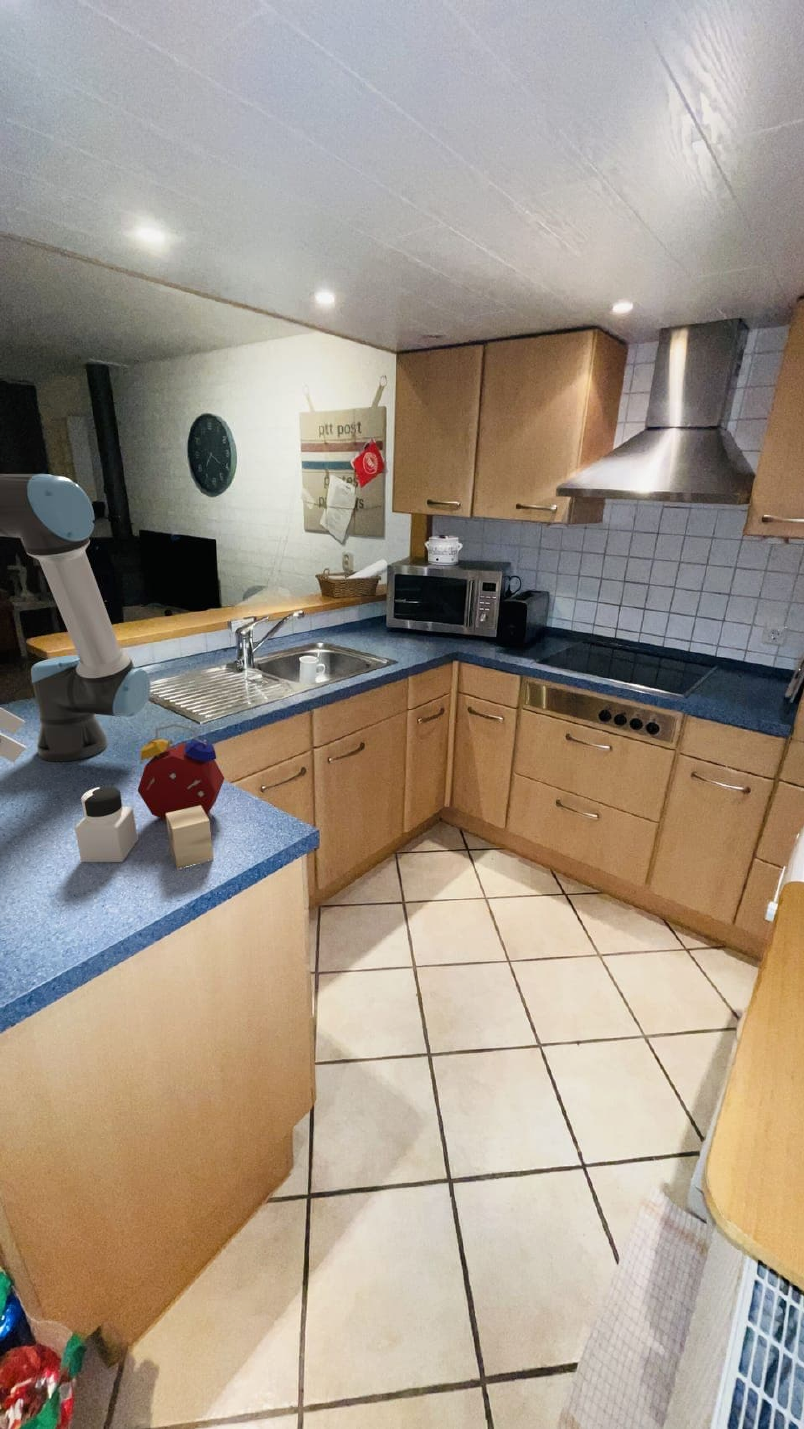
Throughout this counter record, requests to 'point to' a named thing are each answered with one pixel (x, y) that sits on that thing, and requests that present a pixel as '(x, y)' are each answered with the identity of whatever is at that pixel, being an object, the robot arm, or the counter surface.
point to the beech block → (189, 836)
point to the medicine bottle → (105, 827)
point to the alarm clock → (179, 775)
